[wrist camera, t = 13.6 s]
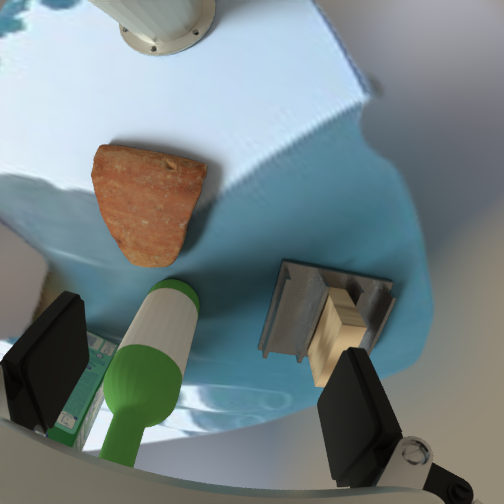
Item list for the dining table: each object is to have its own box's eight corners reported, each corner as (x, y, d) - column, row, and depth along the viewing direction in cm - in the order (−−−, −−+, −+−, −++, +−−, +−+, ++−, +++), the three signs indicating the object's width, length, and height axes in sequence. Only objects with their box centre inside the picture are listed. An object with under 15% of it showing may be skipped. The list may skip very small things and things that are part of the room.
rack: (282, 258, 42) (285, 271, 38) (390, 280, 43) (401, 292, 39) (257, 345, 47) (258, 362, 43) (355, 357, 48) (362, 373, 45)
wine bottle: (190, 270, 42) (119, 468, 14) (208, 316, 45) (174, 512, 17) (141, 282, 43) (42, 457, 15) (161, 326, 46) (99, 503, 18)
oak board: (325, 286, 42) (342, 324, 33) (345, 289, 42) (367, 327, 33) (305, 343, 46) (315, 386, 37) (324, 345, 46) (337, 388, 37)
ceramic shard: (74, 254, 36) (94, 139, 33) (98, 245, 42) (118, 145, 39) (173, 289, 35) (203, 161, 32) (188, 274, 42) (215, 165, 39)
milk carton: (114, 377, 50) (68, 486, 27) (72, 358, 49) (14, 457, 26) (120, 345, 47) (63, 465, 24) (75, 324, 46) (2, 429, 23)
